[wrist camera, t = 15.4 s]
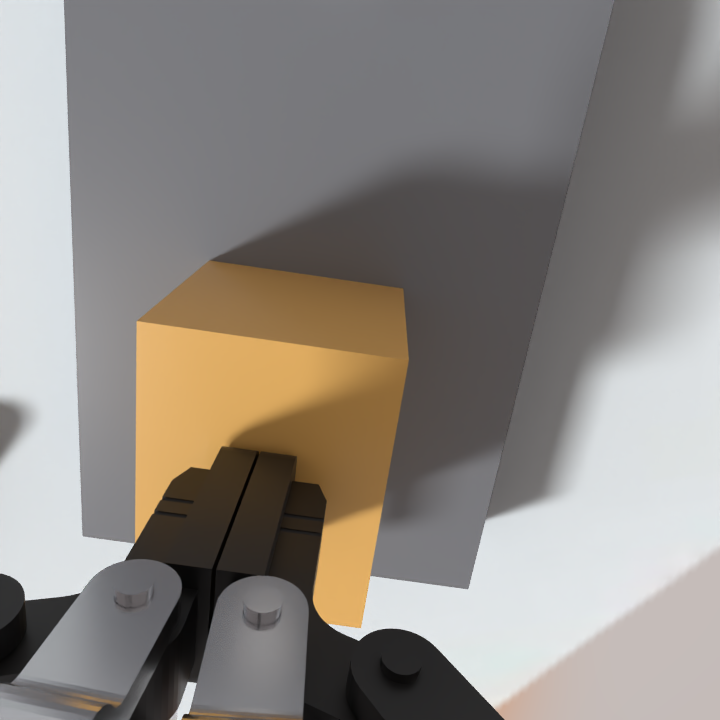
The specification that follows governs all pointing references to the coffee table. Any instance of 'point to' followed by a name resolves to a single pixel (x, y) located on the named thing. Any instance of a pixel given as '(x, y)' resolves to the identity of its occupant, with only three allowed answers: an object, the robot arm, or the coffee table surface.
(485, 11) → the socket board
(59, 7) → the coffee table surface
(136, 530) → the plug
